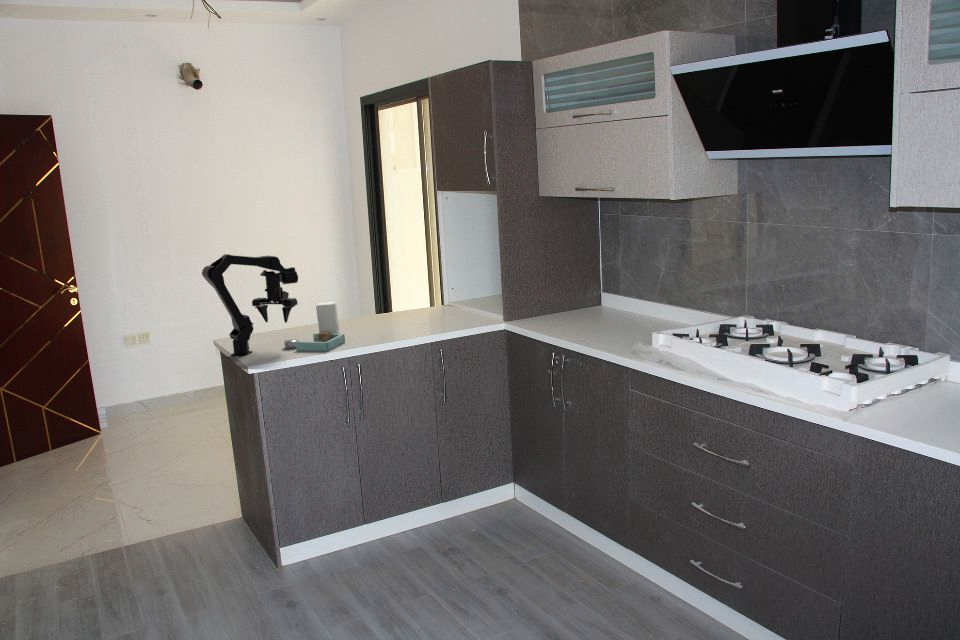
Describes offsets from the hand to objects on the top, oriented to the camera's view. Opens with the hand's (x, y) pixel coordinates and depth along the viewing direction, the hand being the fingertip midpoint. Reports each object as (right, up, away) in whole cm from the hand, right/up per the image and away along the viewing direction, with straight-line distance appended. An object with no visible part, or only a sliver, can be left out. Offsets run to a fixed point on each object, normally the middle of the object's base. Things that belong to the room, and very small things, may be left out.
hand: (276, 322), depth 336 cm
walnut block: (+20, -9, +4) cm, 22 cm away
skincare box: (+20, -7, +16) cm, 26 cm away
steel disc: (+7, -11, 0) cm, 13 cm away
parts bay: (+18, -10, 0) cm, 21 cm away
